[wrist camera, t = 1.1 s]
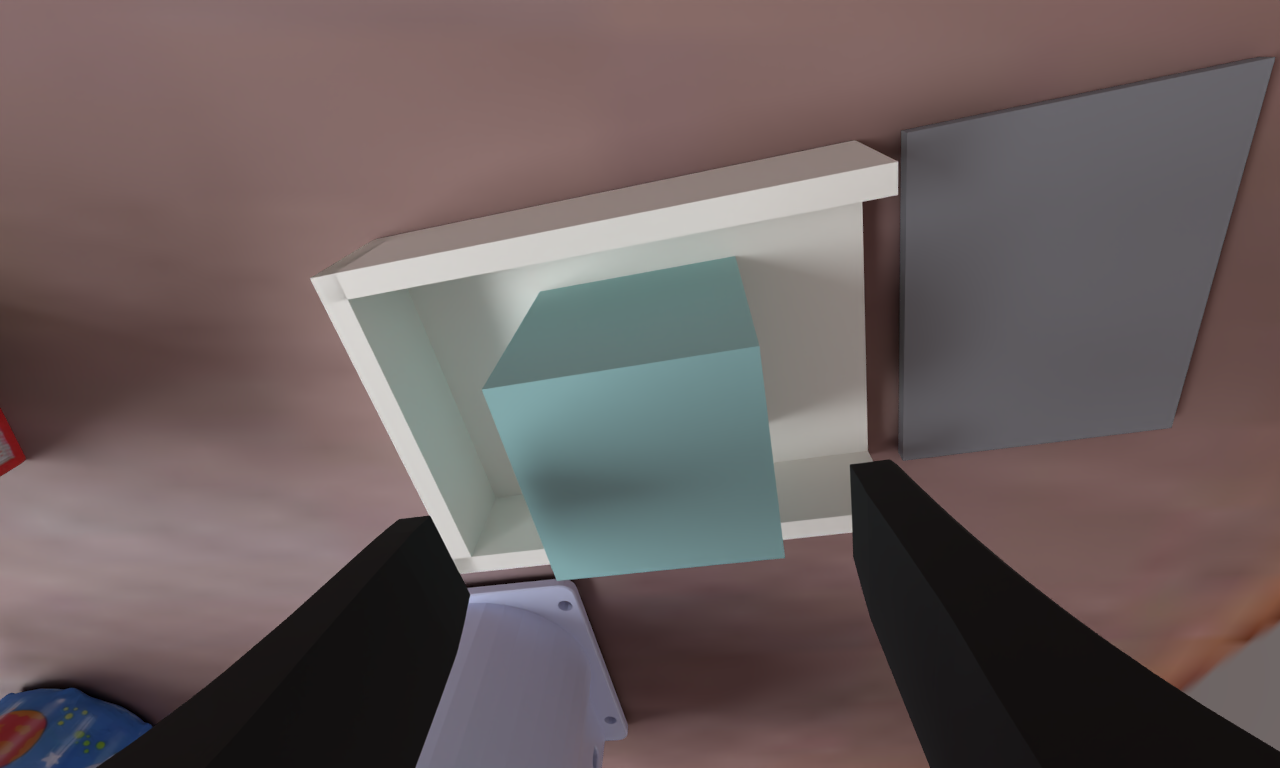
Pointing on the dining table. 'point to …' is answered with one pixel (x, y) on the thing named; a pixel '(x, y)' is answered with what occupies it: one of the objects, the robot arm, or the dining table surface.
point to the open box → (604, 249)
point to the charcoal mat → (1065, 258)
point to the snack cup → (63, 729)
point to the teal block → (641, 423)
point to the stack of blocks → (8, 447)
